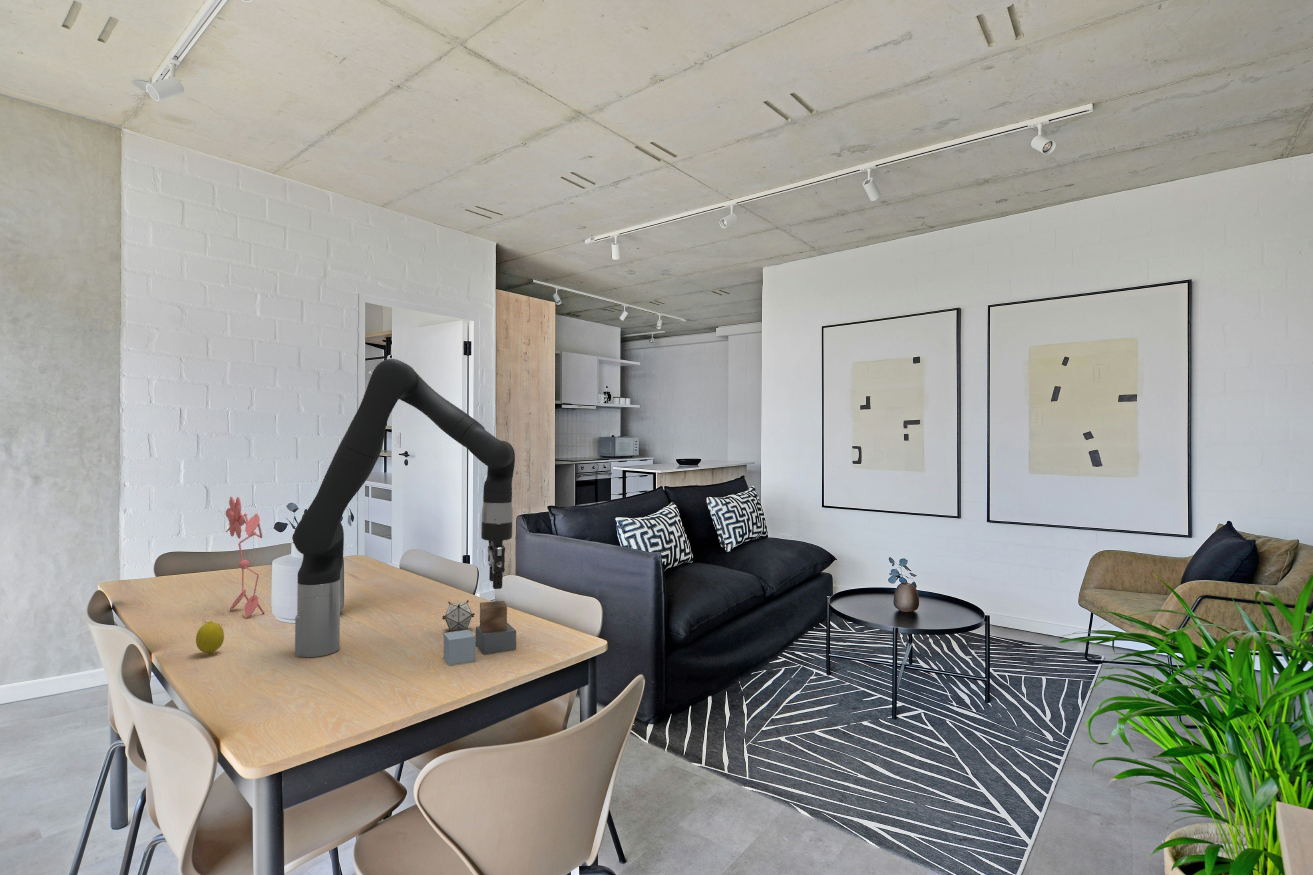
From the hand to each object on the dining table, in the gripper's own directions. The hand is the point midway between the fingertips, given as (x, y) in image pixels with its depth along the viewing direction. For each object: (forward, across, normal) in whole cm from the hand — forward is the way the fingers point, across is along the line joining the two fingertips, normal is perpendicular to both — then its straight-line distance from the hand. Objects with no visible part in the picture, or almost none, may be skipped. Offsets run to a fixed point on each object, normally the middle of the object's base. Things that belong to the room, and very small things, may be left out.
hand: (495, 584), depth 158 cm
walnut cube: (+11, 0, 0) cm, 11 cm away
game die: (+16, -17, -8) cm, 25 cm away
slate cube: (+16, +6, -9) cm, 19 cm away
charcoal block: (+16, 0, 0) cm, 16 cm away
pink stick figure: (+17, -53, -69) cm, 88 cm away
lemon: (+17, -17, -65) cm, 69 cm away
